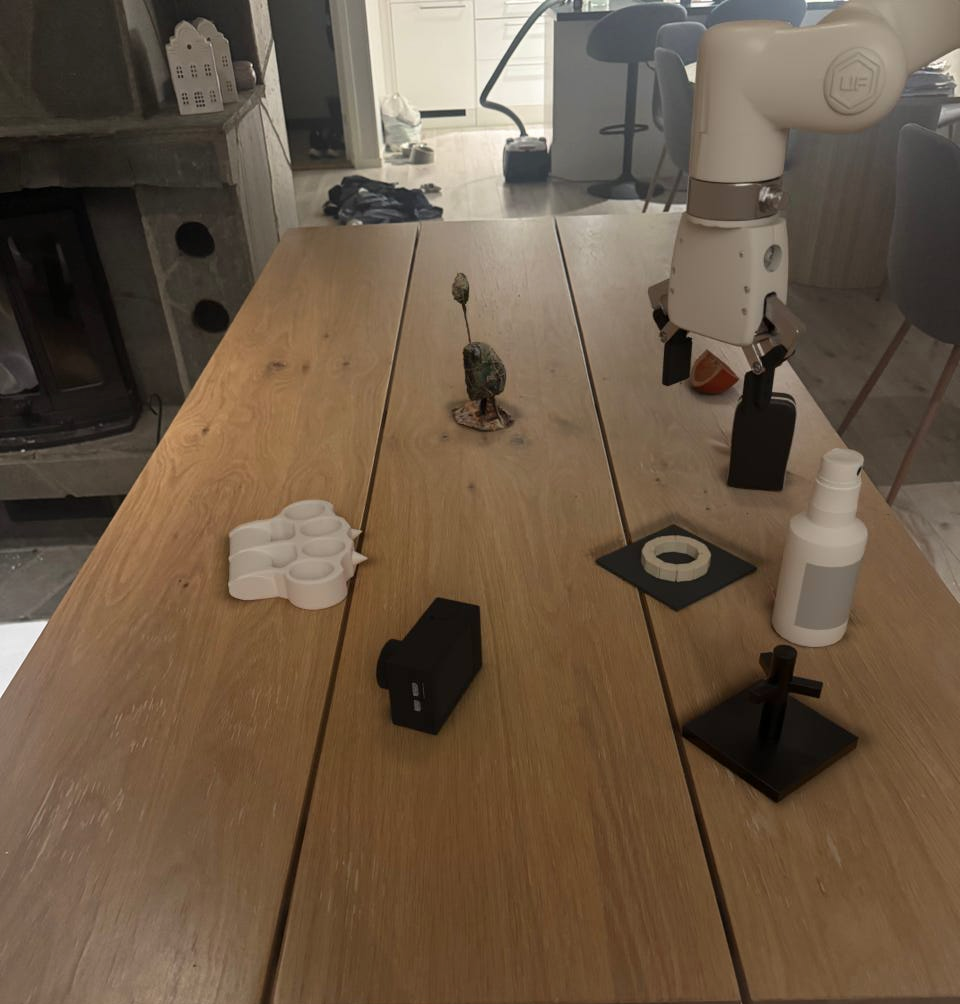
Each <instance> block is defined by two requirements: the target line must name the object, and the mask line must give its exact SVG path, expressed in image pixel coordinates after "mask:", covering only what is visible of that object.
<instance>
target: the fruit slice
mask: <svg viewBox="0 0 960 1004" xmlns="http://www.w3.org/2000/svg"><path fill="white" fill-rule="evenodd" d="M689 378H690V380H689V381H690V384H691V386H692V387H693V388H694V389H695V390H697V391H698V392H701V393H703V394H707V395H715V394H719V393H722V392H725V391H727V390H729V389H730V388H732V387H734V386H735V385H736V384H737V383H738V382H739V381H740V377H739V376H738V375H737V373H735V372H734V370H733V369H732V368H731V367H730V366H729V365H728V364H726V363H725V362H724V361H722V360H721V358H720V357H718V356H716V355H715V354H714V353H713V352H712V351H711V350H709V349H708V348H706V349H705V350H704V351H703V352H702V353H701V354H700V355H699V356H698V358H697V359H695V361H694V363H693V366H692V368H691V370H690V377H689Z"/></svg>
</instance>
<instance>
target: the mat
mask: <svg viewBox="0 0 960 1004" xmlns="http://www.w3.org/2000/svg"><path fill="white" fill-rule="evenodd" d="M673 535H675V537H676V535H678V536H684V537H689V538H692V539H695V540H697V541H699V542H701V543H703V544H705V546H707V548H708V550H709V551H710V553H711V559H710V566H709V568H708V570H707V573H705V575H703V576H701V577H699V578H697V579H695V580H694V579H693V580H690V581H680V582H677V581H676V580H675V582H674V581H669V580H664V579H659V578H656V577H655V576H653V575H651V574H649V573H648V572H646V571H645V569H644V567H643V565H642V563H641V555H642V549H643V548H644V546H645V544H646V543H647V542H649V541H651V540H653V539H655V538H657V537H659V538H660V537H662V536H673ZM656 558H658V559H660V560H662V561H663V562H665V563H671V564H676V565H677V564H688V563H691V562H693V561H695V560H696V559H695V558H693V557H691V556H690V555H688V554H685V553H679V552H665V553H662V554H659V555H657V556H656ZM594 563H595V564H596V565H598V566H600V567H601V568H603V569H605V570H606V571H609V573H612V574H613V575H615V576H616V577H618V578H620V579H622V580H623V581H625V582H626V583H628V584H630V585H632V586H633V587H634V588H636V589H638V590H640V591H642V592H643V593H645V594H646V595H648V596H651V598H653V599H655V600H657V601H658V602H659V603H662V604H663V605H665V606H667V607H668V608H670V609H672V610H673V611H675V612H679V611H681V610H683V609H685V608H687V607H688V606H691V605H692V604H695V603H696V602H698V601H700V600H703V599H704V598H706V597H708V596H710V595H712V594H714V593H716V592H718V591H719V590H721V589H724V588H726V587H727V586H729V585H731V584H733V583H735V582H737V581H739V580H741V579H743V578H745V577H746V576H748V575H750V574H752V573H755V572H756V571H758V566H756V565H755V564H752V563H750V562H749V561H747V560H745V559H743V558H741V557H739V556H737V555H735V554H733V553H732V552H729V551H727V550H725V549H723V548H722V547H719V546H717V545H716V544H714V543H712V542H709V540H707V539H704V538H702V537H701V536H698V535H697V534H694V533H693V532H691V531H689V530H687V529H685V528H683V527H681V526H680V525H677V524H676V523H673V524H670V525H668V526H666V527H663V528H661V529H660V530H658V531H655V532H653V533H650V534H649V535H646V536H645V537H641V538H639V539H638V540H636V541H633V542H631V543H629V544H627V545H625V546H622V547H620V548H618V549H616V550H614V551H612V552H609V553H607V554H605V555H603V556H600V557H598V558H595V560H594Z"/></svg>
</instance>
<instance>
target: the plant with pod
mask: <svg viewBox="0 0 960 1004" xmlns="http://www.w3.org/2000/svg"><path fill="white" fill-rule="evenodd" d="M453 281H454V282H453V283H452V284H451V295H452V297H453V300H454V301H456V302H457V303H459V304H460V305H461V308H462V311H463V318H464V321H465V327H466V331H467V337H468V343H467V344H466V345H465V346H464V347H463V349H462V352H461V353H462V355H463V357H462V358H463V359H462V361H463V363H462V364H463V370H464V383H465V386H466V389H465V390H466V393H467V395H468V399H469V401H467V402H465V403H464V405H461V406H458V408H457V407H455V408H453V409H452V410H451V412H452V414H454V418H455V420H454V421H455V422H456V421H457V422H456V423H457V424H458V425H464V426H468V427H469V428H474V429H476V430H478V431H481V432H482V431H483V432H492V431H493V432H496V430H498V431H500V430H502V429H506V428H509V427H510V426H512V424H514V422H515V419H514V417H512V415H511V413H510V411H509V410H504V408H503V407H501V406H500V404H498V403H497V400H496V396H500V395H501V394H502V393H504V391H505V387H506V383H507V369H506V367H505V363H503V360H502V359H501V358H500V356H499V355H498V354H497V352H496V351H495V349H494V348H493V347H492V346H491V345H490V344H488V343H485V342H482V341H472V339H471V332H470V326H469V321H468V318H467V304H468V301H469V300H470V299H469V298H470V288H471V287H470V284H469V280H468V277H467V276H466V274H464V272H457V274H456V276H455V277H454V279H453Z"/></svg>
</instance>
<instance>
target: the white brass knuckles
mask: <svg viewBox="0 0 960 1004" xmlns="http://www.w3.org/2000/svg"><path fill="white" fill-rule="evenodd" d="M334 506H335V505H334V504H333V503H332V502H329V501H327V500H323V499H303V500H298V501H295V502H293V503H290V504H288V505H287V506H285V507H284V508H283V509H282V510H281V511H280V513H279V514H277V515H275V516H273V517H271V518H266V519H258V520H252V521H249V522H245V523H242V524H239V525H238V526H236V527H234V528H233V529H231V531H229V532H228V537H229V556H228V562H229V569H228V572H229V574H228V582H227V587H228V592H229V594H230V596H231V597H233V598H235V599H238V600H242V601H243V600H244V601H254V600H266V599H275V598H280V599H285V600H288V601H289V602H290V603H291V604H292V605H293V606H295V607H297V608H299V609H303V610H309V611H315V610H316V611H317V610H325V609H329V608H331V607H334V606H336V605H338V604H339V603H341V602H343V600H345V599H346V597H347V596H348V595H349V594H348V593H349V592H348V586H347V585H348V584H347V582H348V581H349V580H350V579H351V578H353V577H354V576H355V573H356V569H357V565H358V564H361V563H362V562H364V561H366V560H368V559H369V557H367V556H365V555H363V554H361V553H359V552H358V551H356V549H355V542H354V540H355V539H356V538H357V537H358V536H359V535H361V533H362V532H363V530H361V529H356V528H352V527H351V525H350V524H349V523H348V521H347V520H346V519H345V517H341V516H339V515H337V514H336V512H335V507H334Z"/></svg>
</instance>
